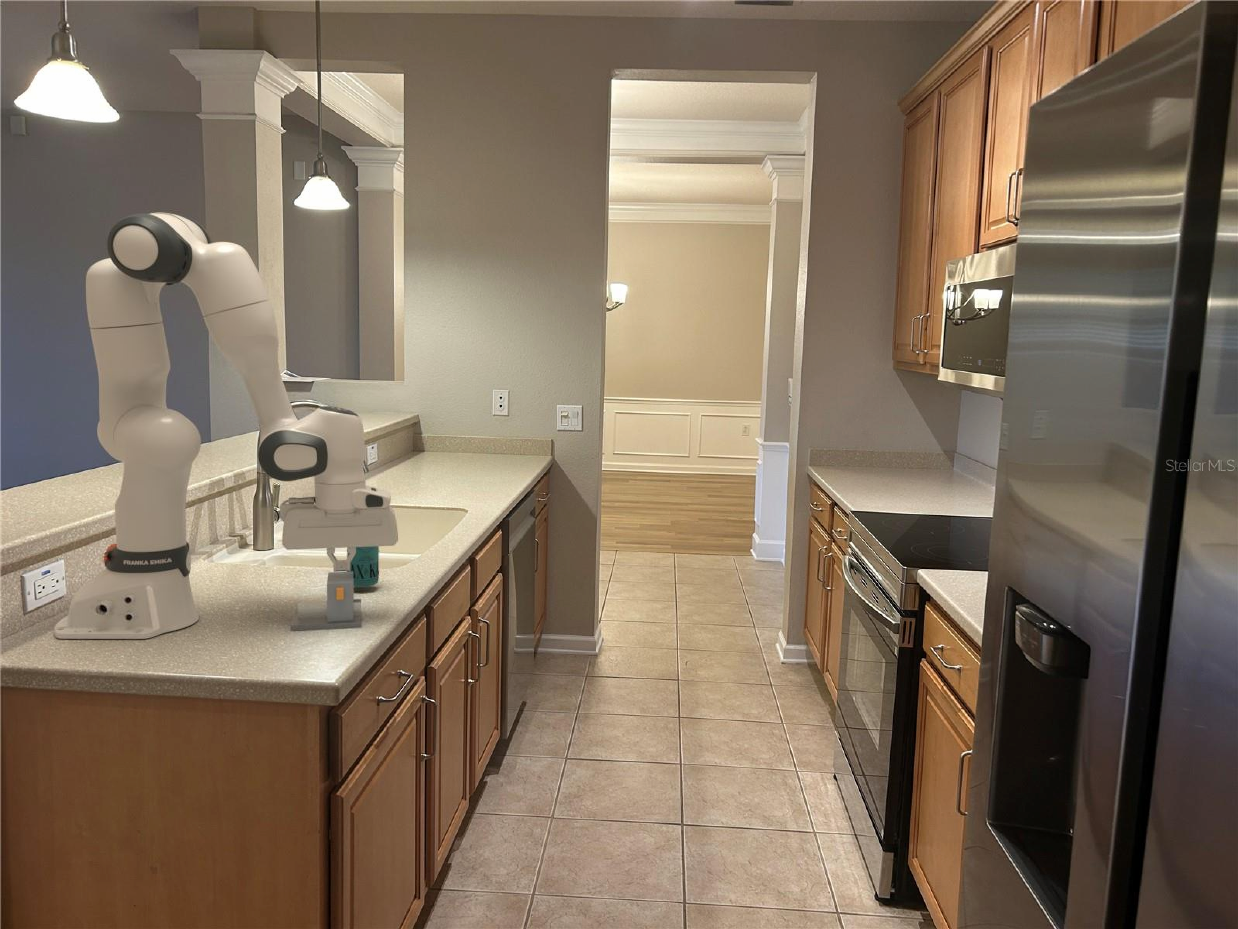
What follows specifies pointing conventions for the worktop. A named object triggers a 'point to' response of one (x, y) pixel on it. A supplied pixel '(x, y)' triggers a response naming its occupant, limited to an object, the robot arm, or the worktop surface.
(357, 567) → the beverage bottle
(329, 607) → the module
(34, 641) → the worktop surface
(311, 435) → the robot arm
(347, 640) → the worktop surface
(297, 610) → the grey ledge plate
